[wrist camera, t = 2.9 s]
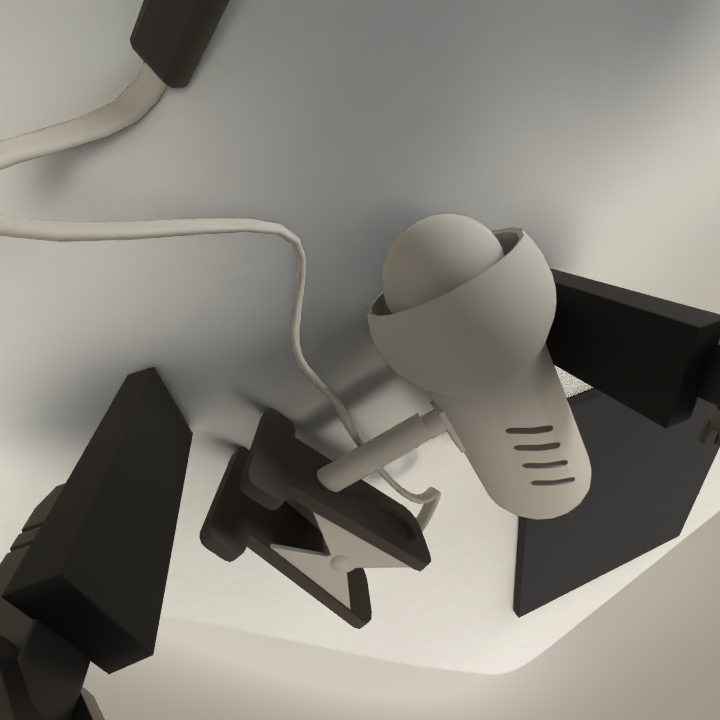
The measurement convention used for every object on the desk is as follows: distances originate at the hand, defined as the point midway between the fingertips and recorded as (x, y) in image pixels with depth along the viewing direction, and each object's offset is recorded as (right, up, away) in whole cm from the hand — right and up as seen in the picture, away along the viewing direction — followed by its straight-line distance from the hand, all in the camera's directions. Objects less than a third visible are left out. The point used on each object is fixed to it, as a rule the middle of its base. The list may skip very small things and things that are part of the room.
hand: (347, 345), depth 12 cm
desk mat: (+18, -9, +12) cm, 23 cm away
